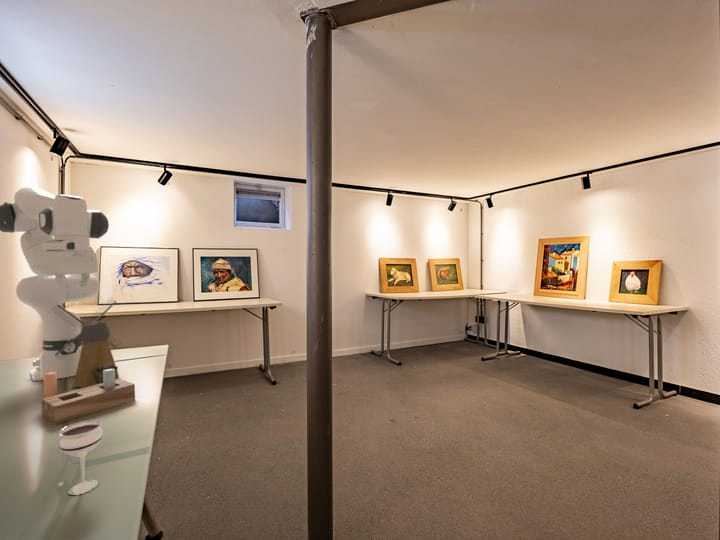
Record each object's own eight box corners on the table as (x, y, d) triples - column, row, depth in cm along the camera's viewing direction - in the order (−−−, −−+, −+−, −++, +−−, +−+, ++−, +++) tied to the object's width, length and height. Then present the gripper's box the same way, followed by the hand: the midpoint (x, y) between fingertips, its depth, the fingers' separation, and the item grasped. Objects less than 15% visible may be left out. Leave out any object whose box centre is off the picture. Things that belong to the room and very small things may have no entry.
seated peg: (102, 402, 111) (101, 370, 110) (113, 399, 113) (112, 368, 113) (106, 404, 109) (105, 372, 109) (117, 401, 112) (116, 369, 111)
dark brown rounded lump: (89, 397, 115) (88, 373, 114) (93, 390, 121) (92, 367, 121) (116, 393, 118) (115, 369, 118) (119, 386, 125) (119, 363, 124)
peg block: (42, 416, 101) (41, 399, 101) (120, 393, 118) (119, 378, 118) (55, 424, 96) (54, 406, 96) (135, 399, 113) (134, 384, 112)
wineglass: (106, 473, 74) (104, 416, 74) (102, 491, 68) (100, 430, 68) (64, 484, 71) (62, 425, 70) (57, 504, 65) (54, 440, 64)
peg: (43, 406, 108) (41, 374, 108) (55, 403, 110) (54, 371, 110) (46, 408, 106) (45, 375, 106) (59, 405, 109) (58, 373, 109)
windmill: (120, 370, 143) (117, 296, 141) (138, 376, 135) (135, 298, 134) (52, 387, 125) (49, 302, 123) (69, 395, 117) (65, 304, 116)
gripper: (83, 246, 124) (84, 286, 124) (36, 244, 104) (39, 291, 104) (102, 246, 125) (104, 285, 125) (60, 243, 104) (62, 290, 105)
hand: (74, 288), depth 114 cm, fingers open, 8 cm apart
